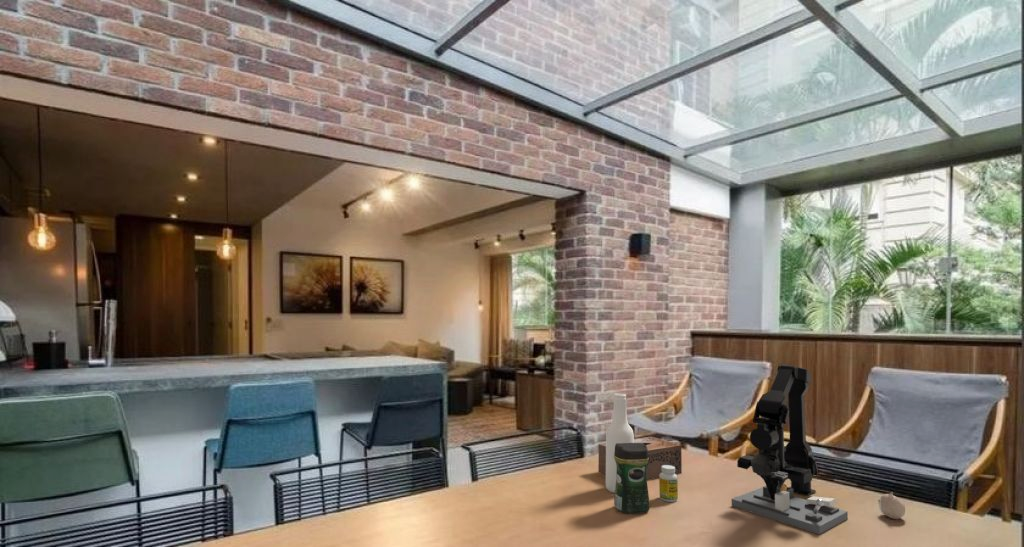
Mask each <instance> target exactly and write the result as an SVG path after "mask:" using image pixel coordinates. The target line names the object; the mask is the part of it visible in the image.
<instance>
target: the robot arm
mask: <svg viewBox="0 0 1024 547" xmlns="http://www.w3.org/2000/svg"><path fill="white" fill-rule="evenodd" d="M776 371H777V372H776V375H775V377H774V380H773V382H772V385H771V387H770V389H769V390H768V392H766V393H763V394H762V395H761V397H760V398H759V399H758V401H757V402H756V404H755V408H754V415H753V418H752V423H753V424H754V423H755V424H756V428H754V429H752V430H751V432H750V434H749V441H750V443H751V445H753V447H754V448H756V449H757V450H758V453H757V454H756V455H755V456H753V455H748V454H745V455H743V456H739V457H738V458H737V461H736V462H737V463H736V464H737V465H736V466H737V468H738V469H739V468H740V469H744V470H749V468H750V467H751V469H752V473H754V474H756V475H757V476H759V477H761V478H762V480H763V482H764V483H765V486H767V489H768V491H769V494H770V497H771V499H772V500H775V494H776V493H779V491H780V489H781V487H782V485H783V484H785V482H786V480H789V481H790V486H788V487H789V488H793V489H794V494H795V493H796V494H798V495H799V494H800V495H803V496H810V495H812V494H814V493H816V491H817V490H816V489H812V481H813V477H814V476H818V474H819V470H818V465H817V461H816V459H815V456H814V455H813V448H812V447H811V446H810V444H809V443H808V441H807V436H806V410H805V408H806V407H805V394H806V392H808V389H810V383H811V382H812V372H810V370H808V369H807V368H806V367H798V366H796V365H792V364H780V365H777V370H776ZM787 398H788V402H787ZM787 403H788V404H787ZM787 421H789V422H788V423H789V424H788V426H789V441H788V442H787V444H786V445H785V437H784V436H785V435H784V431H785V430H784V427H785V425H787Z"/></svg>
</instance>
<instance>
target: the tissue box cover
mask: <svg viewBox="0 0 1024 547" xmlns="http://www.w3.org/2000/svg"><path fill="white" fill-rule="evenodd" d="M634 443H642V444H644V445H646V446H647V449H648V456H649V461H648V464H647V481H649V480H650V481H651V480H655V479H659V475H660V473H662V470H661V468H662V466H663V465H670V466H674V467H675V474H676V475H681V474H682V472H683V471H682V470H683V468H682V466H683V465H682V463H683V462H682V460H683V459H682V444H679V443H674V442H672V441H669V440H668V441H667V440H665V439H661V438H658V437H654V436H647V437H638V438H634ZM598 473H599V474H602V475H604V476H606V442H604V443H598Z"/></svg>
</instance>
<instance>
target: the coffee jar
mask: <svg viewBox="0 0 1024 547" xmlns="http://www.w3.org/2000/svg"><path fill="white" fill-rule="evenodd" d="M614 459H615V461H616V466H617V475H616V487H615V493H614V499H613V501H614V503H613V506H614V507H615V509H616V510H617V511H618V512H620V513H623V514H641V513H644V514H645V513H648V512H649V510H650V506H651V505H650V497H649V496H650V494H649V487H648V480H647V464H648V461H649V456H648V449H647V446H646V445H644V444H642V443H617V444H616V445H615V452H614Z"/></svg>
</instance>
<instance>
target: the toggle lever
mask: <svg viewBox="0 0 1024 547" xmlns="http://www.w3.org/2000/svg"><path fill="white" fill-rule="evenodd" d="M816 503H817V504H816V506H815V508H814V510H813V513H814V514H817V512H818V511H819V509H820V507H821V506H823V505H824V501H823V500H822V499H817V500H816Z"/></svg>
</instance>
